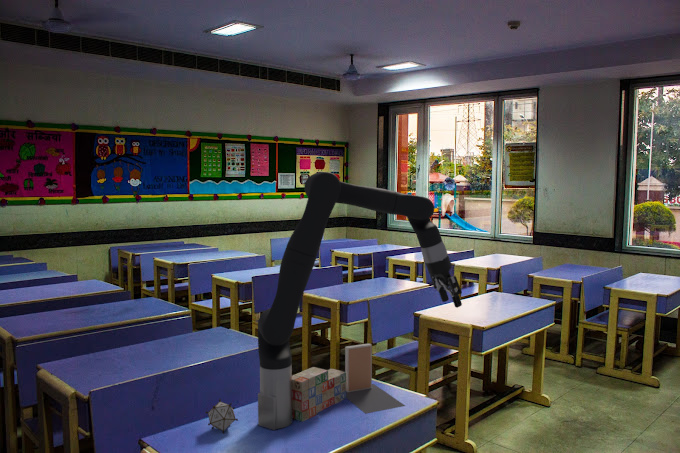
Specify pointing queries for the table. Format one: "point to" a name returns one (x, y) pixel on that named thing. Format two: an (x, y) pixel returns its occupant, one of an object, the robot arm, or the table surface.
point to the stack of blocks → (316, 391)
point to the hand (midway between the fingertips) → (452, 303)
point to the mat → (372, 400)
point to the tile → (358, 367)
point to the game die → (221, 416)
